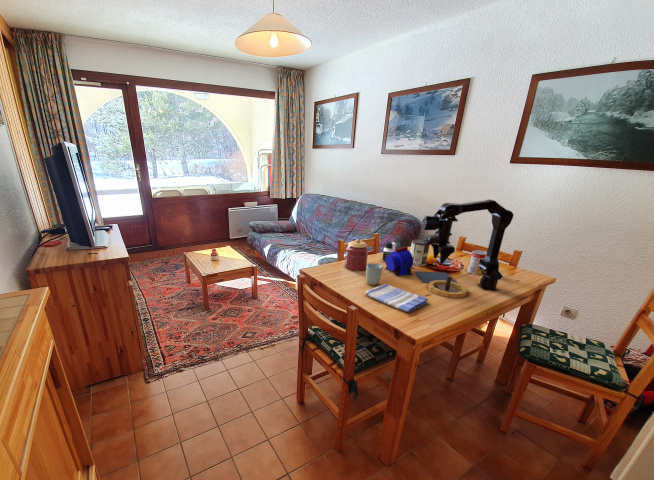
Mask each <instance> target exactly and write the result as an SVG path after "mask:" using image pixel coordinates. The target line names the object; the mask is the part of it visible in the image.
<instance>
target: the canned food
mask: <svg viewBox="0 0 654 480" xmlns="http://www.w3.org/2000/svg"><path fill="white" fill-rule="evenodd" d="M486 254H487V251H485V250H481V249H479V250H478V249H477V250H476V249H474V250H472V251H471V254H470V259H469V262H468V266H467V273H469V274H472V275H479V276H480V275H483V274H482V273H481V270H480V269H479V266H478V265H479V263H480V259H484V258H485V256H486Z"/></svg>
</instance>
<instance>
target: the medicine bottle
mask: <svg viewBox="0 0 654 480" xmlns="http://www.w3.org/2000/svg"><path fill="white" fill-rule="evenodd" d="M396 245H397V244H396V243H395V242H394V241H386V242H385V244H384V248H383V251H382V256H381V257H382V258H381V262H383V263H386V257H387V256H390V255H391V253H392V252H393V251H395V249H396Z"/></svg>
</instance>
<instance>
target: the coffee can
mask: <svg viewBox="0 0 654 480" xmlns="http://www.w3.org/2000/svg"><path fill="white" fill-rule="evenodd" d="M430 246H431V245H426V244H424V240H423V239H419V238H417V239H416V238H415V239H412V240H411V246H410V250H409V251H410V253H411V255H412V257H413V265H412V266H418V267H423V266H426V265H427V261H426V260H428V255H429V250H430Z"/></svg>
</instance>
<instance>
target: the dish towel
mask: <svg viewBox="0 0 654 480" xmlns="http://www.w3.org/2000/svg"><path fill="white" fill-rule="evenodd" d="M365 296H367V297H369V298H371V299H374V300H376V301H378V302H380V303H382V304H385V305H388V306H390V307H392V308H395V309H398V310H400V311H402V312H405V313H411V312H412V311H415V310H417V309H419V308H422V307H423V306H425V305H427V304H428V303H429V302H428V300H429V299H428V298H427V297H425V296H422V295H419V294H416V293H413V292H409V291H406V290H403V289H402V288H399V287H395V286H393V285H390V284H389V283H384V284H382V285H379V286H378V285H377V286H376V287H373V288H370V289H368V290H367V291H365Z"/></svg>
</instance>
